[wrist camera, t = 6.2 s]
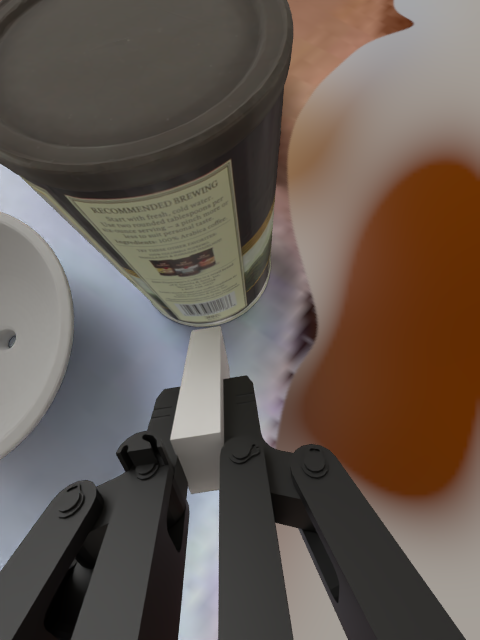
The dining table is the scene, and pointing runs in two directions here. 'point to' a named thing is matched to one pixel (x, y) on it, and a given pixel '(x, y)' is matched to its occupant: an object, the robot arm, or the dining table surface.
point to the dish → (30, 330)
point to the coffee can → (154, 137)
